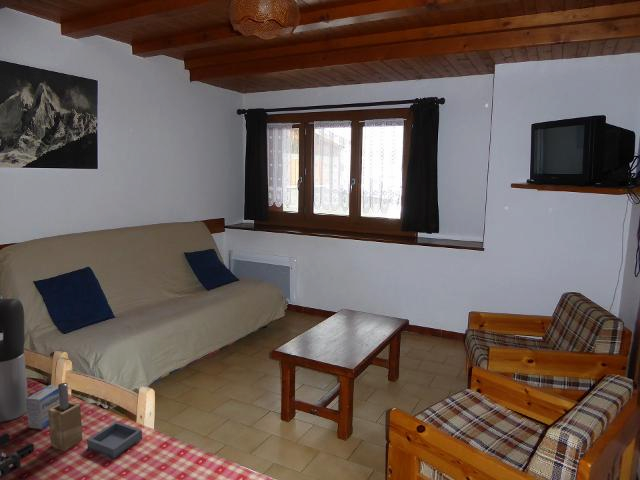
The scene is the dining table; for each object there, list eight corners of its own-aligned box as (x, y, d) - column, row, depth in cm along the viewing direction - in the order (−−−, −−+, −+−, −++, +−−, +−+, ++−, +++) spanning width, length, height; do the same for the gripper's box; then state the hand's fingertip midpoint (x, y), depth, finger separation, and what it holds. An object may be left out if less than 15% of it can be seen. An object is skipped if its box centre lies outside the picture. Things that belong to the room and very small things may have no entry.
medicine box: (42, 430, 120) (39, 400, 118) (27, 427, 121) (25, 398, 119) (64, 414, 128) (62, 386, 126) (50, 412, 128) (48, 384, 127)
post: (61, 442, 115) (57, 384, 112) (70, 439, 116) (66, 382, 114) (63, 446, 114) (58, 387, 111) (71, 443, 115) (68, 385, 112)
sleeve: (50, 445, 114) (48, 409, 112) (68, 435, 118) (66, 399, 116) (64, 451, 112) (62, 414, 110) (82, 440, 116) (80, 404, 114)
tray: (87, 448, 113) (87, 439, 113) (116, 429, 121) (116, 421, 121) (114, 458, 110) (113, 449, 109) (142, 438, 118) (141, 430, 117)
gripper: (-42, 479, 85) (40, 434, 100) (-85, 458, 91) (-1, 419, 105) (-39, 515, 86) (42, 465, 101) (-81, 492, 92) (1, 448, 107)
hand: (20, 441), depth 103 cm, fingers open, 8 cm apart
